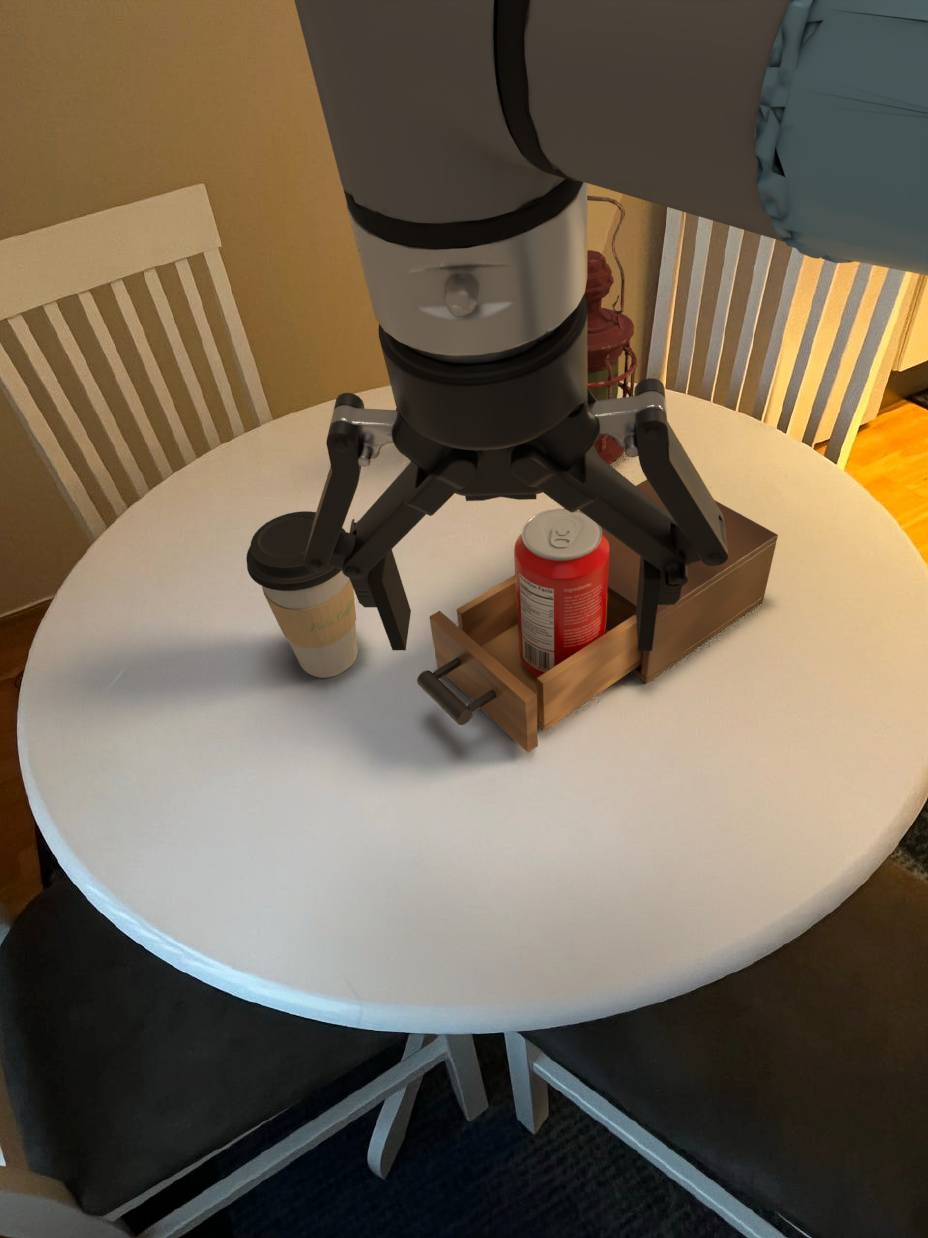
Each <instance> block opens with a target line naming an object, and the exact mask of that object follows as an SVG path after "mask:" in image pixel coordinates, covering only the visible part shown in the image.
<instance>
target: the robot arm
mask: <svg viewBox="0 0 928 1238" xmlns="http://www.w3.org/2000/svg"><path fill="white" fill-rule="evenodd" d="M293 1H294V5H295V9H296V12H297V16H298V17H297V18H298V21H299V24H300V28H301V32H302V35H303V41H304V44H305V47H306V51H307V55H308V59H309V64H310V67H311V71H312V75H313V79H314V83H315V86H316V90H317V94H318V98H319V102H320V105H321V110H322V113H323V118H324V121H325V125H326V129H327V133H328V137H329V141H330V145H331V148H332V152H333V156H334V160H335V164H336V168H337V172H338V175H339V180H340V184H341V186H342V190H343V194H344V197H345V202H346V210H347V215H348V218H349V222H350V225H351V230H352V234H353V238H354V240H355V245H356V249H357V253H358V257H359V260H360V265H361V268H362V272H363V276H364V281H365V285H366V288H367V291H368V296H369V300H370V303H371V307H372V311H373V314H374V318H375V321H377V323H378V329H377V330H378V339H379V343H380V348H381V351H382V355H383V359H384V363H385V367H386V372H387V375H388V376H387V377H388V379H389V384H390V387H391V393H392V396H393V400H394V404H395V407H396V408H395V409H380V408H365V404H364V403H365V402H364V401H363V399H362V398H361V397H360V396H359V395H356V394H355V393H352V392H344V393H343V392H342V393H340V394H339V395H337V397H336V399H335V403H334V407H333V411H332V414H331V419H330V424H329V428H328V432H327V437H326V444H325V445H326V448H327V454H328V459H329V462H330V467H329V470H328V473H327V476H326V479H325V483H324V486H323V489H322V493H321V496H320V499H319V501H318V504H317V507H316V511H315V512H316V514H315V517H314V521H313V524H312V528H311V532H310V537H309V541H308V545H307V550H306V554H305V558H304V565H305V567H306V568H307V569H309V570H311V571H314V572H323V571H325V570H326V569H327V568H328V566H330V567H335V568H339V569H341V570H342V572H343V574H344V575H345V576H347V577H348V578H349V579H350V581H351V584H352V586H353V591H354V595H355V596H356V599H357V601H358V603H359V605H361V606H362V607H363V608H376V610H377V612H378V615H379V618H380V620H381V623H382V626H383V629H384V631H385V634H386V637H387V639H388V641H389V644H390V648H391V650H392V651H406V650H407V643H408V636H409V629H410V622H411V615H412V609H411V606H410V602H409V600H408V597H407V593H406V591H405V587H404V584H403V581H402V578H401V574H400V571H399V568H398V564H397V562H396V557H395V554H394V552H393V549H394V548H395V547H396V546H397V545H398V544H399V543H400V542H401V541H402V539H403V538H405V536H407V535H408V533H410V531H412V530H413V529H414V527H415V526H417V525H418V524H419V522H421V521H422V520H423V519H424V517H426V516H429V517H432V516H433V515H435V514H436V513H437V512H438V511H439V510H440V509H441V508H442V507H443V506H444V505H445V504H446V503H447V502H448V501H449V500H450V499H451V498H452V497H453V496H454V495H455V494H456V495H459V496H462V497H463V496H464V498H465V502H482V501H488V500H493V499H497V498H498V499H499V498H505V499H510V500H511V499H512V500H517V501H518V500H519V501H521V500H524V501H525V500H526V501H529V500H537V497H538V495H539V494H545V495H546V496H547V497H548V498H550V499H551V500H553V501H554V502H555V503H556V504H558V505H559V506H561V508H565V509H566V510H568V511H569V512H571V513H573V512H575V511H577V510H579V511H581V512H582V513H583V514H585V515H586V516H588V517H589V518H590V519H592V520H593V521H594V522H596V523H597V524H598V525H600V526H601V527H602V528H604V529H605V530H606V531H608V532H609V533H610V534H612V535H613V536H614V537H616V538H617V539H618V540H620V541H621V542H622V543H624V544H625V545H626V546H628V547H629V548H630V549H632V550H633V551H634V552H636V553H637V554H639V555H640V556H641V557H640V569H639V581H638V593H637V605H636V618H637V640H638V651H652V648H653V639H654V631H655V622H656V614H657V606H658V605H675V604H676V603H677V602H678V601H679V599H680V594H681V587H682V586H683V585H685V584H686V583H687V581H688V576H687V566H688V565H690V564H692V563H694V562H698V561H702V562H703V563H704V564H705V565H708V566H718V565H721V564H724V563H725V562H726V561H727V559H728V551H727V542H726V534H725V526H724V518H723V514H722V512H721V511H720V509H719V507H718V506H717V504H716V502H715V501H716V500H715V499H714V497H713V496H712V494H711V492H710V490H709V489H708V487H707V486H706V484H705V482H704V480H703V479H702V477H701V475H700V473H699V472H698V470H697V469H696V467H695V465H694V463H693V462H692V460H691V459H690V457H689V455H688V453H687V451H686V450H685V448H684V446H683V445H682V443H681V442H680V440H679V438H678V437H677V435H676V433H675V432H674V429H673V428H672V426H671V425H670V423H669V422H668V421H669V420H668V413H667V401H666V400H667V399H666V389H665V386H664V383H663V382H662V381H661V380H660V379H657V378H651V377H649V378H645V379H642V380H640V381H639V382H637V384H636V385H635V386H634V391H633V395H634V396H632V397H629V396H626V397H624V398H623V397H617V398H616V399H608V400H601V401H597V400H596V399H595V397H594V396H593V395H592V393H591V392H590V390H589V388H588V385H587V302H586V298H585V295H584V293H585V289H586V283H587V250H588V200H587V196H588V184H589V185H592V186H595V187H599V188H602V189H606V190H610V191H612V192H615V193H619V194H623V195H626V196H629V197H633V198H636V199H639V200H643V201H646V202H649V203H653V204H655V205H660V206H663V207H665V208H669V209H673V210H676V211H679V212H683V213H686V214H690V215H692V216H696V217H700V218H703V219H706V220H709V221H712V222H717V223H718V224H719V223H720V224H722V225H723V224H724V225H726V226H729V227H733V228H736V229H738V230H739V229H740V230H743V231H747V232H750V233H753V234H755V235H760V236H763V237H767V238H770V239H773V240H777V241H780V242H783V243H785V244H786V246H787V247H791V248H794V249H796V250H797V251H798V252H799V254H802V255H804V256H806V257H809V258H812V259H817V260H819V259H822V260H824V261H828V262H831V263H835V264H849V263H854V262H856V263H862V264H866V265H871V266H877V267H881V268H887V269H892V270H896V271H901V272H907V273H912V274H917V275H922V276H927V277H928V0H293ZM599 435H609V436H611V437H613V438H614V439H616V441H617V443H618V445H619V446H620V447H621V448H623V449H624V452H625V453H624V454H625V455H626V457H629V458H636V457H637V458H638V462H639V466H640V468H641V471H642V473H643V475H644V476H645V478H646V480H648V481H649V483H650V484H651V486H652V487H653V489H654V490H655V492H656V493H657V495H658V497H659V498H660V500H661V501H662V503H663V504H664V506H665V507H666V509H667V510H668V512H669V513H670V514H669V513H668V512H667V511H666V510H665V509H663V508H662V507H661V506H660V505H658V504H657V503H656V502H655V501H653V500H652V499H651V498H650V497H649V496H647V495H646V494H645V493H644V492H642V491H641V490H640V489H639V488H637V487H636V485H635V484H634V483H633V482H632V481H630V480H629V479H628V478H626V477H625V476H624V475H623V474H622V473H621V472H619V471H618V470H617V469H615V468H614V467H613V466H612V465H611V464H608V463H607V462H606V461H604V460H603V459H602V458H601V457H600V456H599V455H598V454H597V451H596V449H595V447H594V444H595V443H596V441H597V439H598V437H599ZM387 444H388V445H389V444H393V445H394V447H395V449H396V450H397V451H398V452H399V453H401V455H402V456H404V457H406V458H407V460H409V461H410V462H409V463H408V464H407V465H406V467H404V468H403V470H402V471H401V472H400V473H399V474H398V476H397V477H396V478H395V479H394V480H393V481H392V482H391V484H390V485H389V486H388V487H387V488H386V489H385V490H384V492H382V494H381V495H379V497H378V498H377V499H376V501H375V502H373V504H372V505H371V506H370V507H369V509H367V511H365V513H364V514H363V515H362V517H360V518H359V520H358V521H357V522H355V518H352V519H351V523H350V527H349V532H347V531H346V532H342V531H341V530H342V528H344V527H343V526H344V524H345V522H346V519H347V516H348V513H349V511H350V508H351V505H352V502H353V500H354V496H355V494H356V491H357V489H358V485H359V481H360V476H361V472H362V467H364V468H365V467H366V468H367V467H369V466H370V465H371V463H372V460H374V459H376V458H378V456H379V455H380V453H381V449H382V447H384V446H385V445H387ZM714 500H715V501H714Z"/></svg>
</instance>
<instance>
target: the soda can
mask: <svg viewBox="0 0 928 1238" xmlns="http://www.w3.org/2000/svg"><path fill="white" fill-rule="evenodd" d="M513 559H514V562H513V563H514V575H515V582H516V601H517V620H518V640H519V654H520V658H521V661H522V663H523V665H524V667H525V668H526V669H527V670H528V671H529V672H530V673H531V674H533V675H534V676H536V677H537V678H538V677H540V676H541V675H543V674H544V673H546V672H547V671H549V670H550V669H552V668H553V667H555V666H557V665H558V664H560V663H561V662H563V661H564V660H566V659H567V658H569V657H570V656H572V655H573V654H575V653H576V652H578V651H580V650H581V649H583V648H584V647H586V646H587V645H589V644H590V643H592V642H593V641H595V640H596V639H598V638H600V637H601V636H603V635H604V634H606V618H607V598H608V579H609V559H610V547H609V543H608V540H607V538H606V536H605V535H604V534H603V533H602V529H601V526H600V525H598V524H597V523H596V522H594V521H593V520H592V519H590V518H589V517H588V516H586V515H585V514H583V513H582V512H581V511H579V510H577V511H575V512H573V513H571V512H569V511H568V510H566V509H565V508H563V507H561V508H560V507H559V508H552V509H547V510H544V511H541V512H538V513H537V514H534V515H533V516H531V517H530V518H528V520H527V521H526V522H525V523H524V524H523V527H522V529H521V533H520V534H519V535H518V537H517V539H516V541H515V543H514V548H513Z"/></svg>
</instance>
